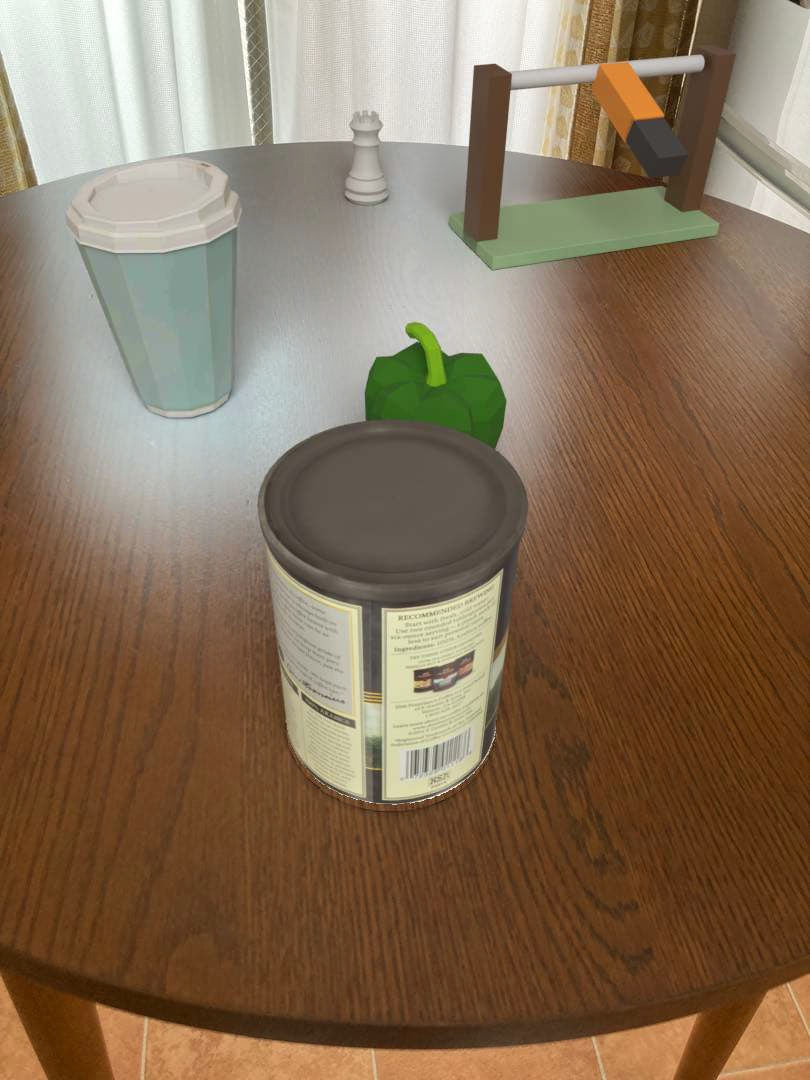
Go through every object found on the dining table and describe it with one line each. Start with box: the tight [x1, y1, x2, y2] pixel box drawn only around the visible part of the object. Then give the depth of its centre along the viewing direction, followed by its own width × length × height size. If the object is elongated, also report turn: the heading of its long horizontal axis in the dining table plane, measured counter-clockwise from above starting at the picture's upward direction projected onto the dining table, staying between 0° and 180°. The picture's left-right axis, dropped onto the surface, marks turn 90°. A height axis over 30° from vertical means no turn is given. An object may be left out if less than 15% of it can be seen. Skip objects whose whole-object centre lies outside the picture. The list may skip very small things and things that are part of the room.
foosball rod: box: [509, 54, 705, 179], centre depth 76 cm, size 19×2×13 cm
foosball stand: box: [448, 44, 737, 271], centre depth 83 cm, size 24×10×15 cm, turn 111°
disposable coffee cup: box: [64, 156, 243, 419], centre depth 61 cm, size 11×11×15 cm
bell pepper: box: [364, 321, 507, 450], centre depth 55 cm, size 8×8×10 cm
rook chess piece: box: [344, 109, 390, 206], centre depth 90 cm, size 4×4×8 cm
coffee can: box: [257, 420, 529, 805], centre depth 40 cm, size 10×10×14 cm
